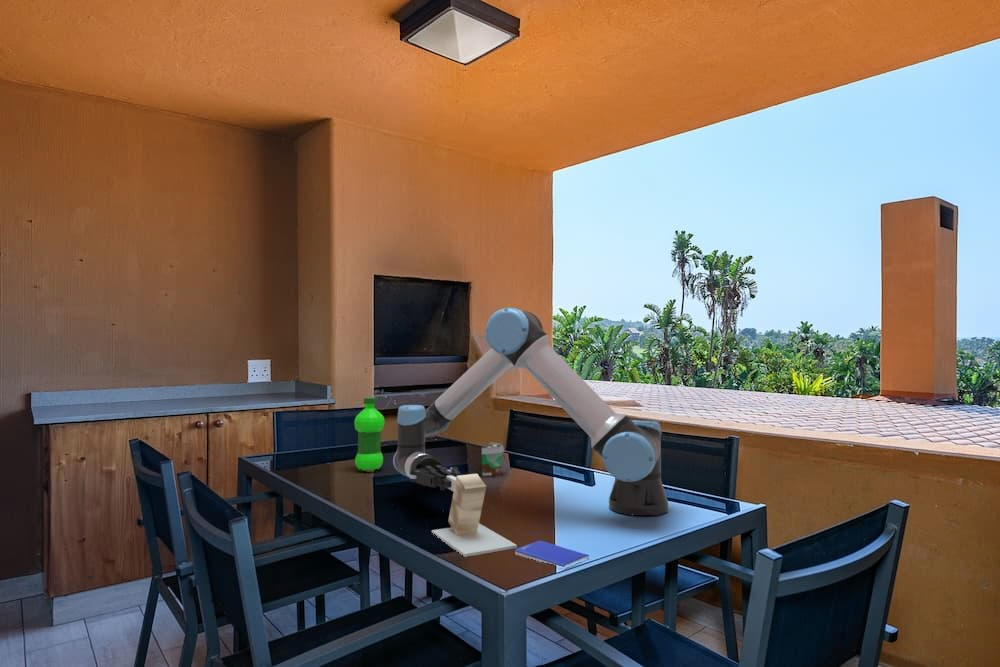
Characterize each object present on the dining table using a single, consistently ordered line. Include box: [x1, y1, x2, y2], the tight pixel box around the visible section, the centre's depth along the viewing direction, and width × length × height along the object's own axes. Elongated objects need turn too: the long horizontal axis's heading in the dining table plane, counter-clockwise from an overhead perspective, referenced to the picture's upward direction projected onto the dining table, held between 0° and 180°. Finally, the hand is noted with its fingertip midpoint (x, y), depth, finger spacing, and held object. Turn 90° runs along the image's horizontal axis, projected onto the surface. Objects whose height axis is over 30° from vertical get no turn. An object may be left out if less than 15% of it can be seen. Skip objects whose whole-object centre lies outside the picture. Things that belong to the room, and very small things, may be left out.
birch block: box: [448, 473, 487, 535], centre depth 132 cm, size 5×5×12 cm
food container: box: [481, 442, 505, 478], centre depth 198 cm, size 12×6×10 cm, turn 168°
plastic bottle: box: [353, 397, 385, 470], centre depth 205 cm, size 10×10×25 cm
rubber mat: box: [431, 522, 518, 558], centre depth 129 cm, size 18×12×1 cm, turn 28°
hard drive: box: [514, 540, 590, 567], centre depth 119 cm, size 2×8×12 cm
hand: (460, 487), depth 134 cm, fingers closed
